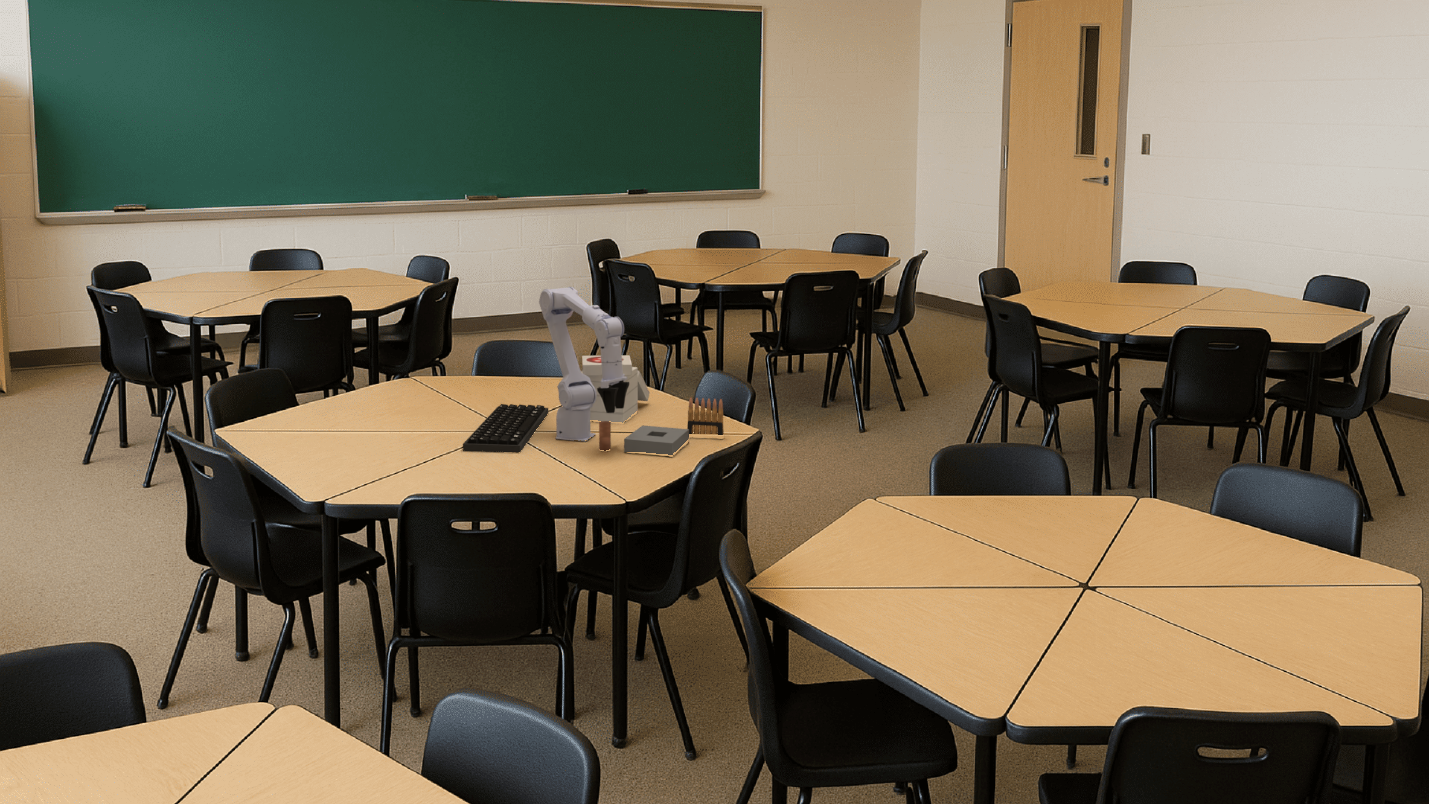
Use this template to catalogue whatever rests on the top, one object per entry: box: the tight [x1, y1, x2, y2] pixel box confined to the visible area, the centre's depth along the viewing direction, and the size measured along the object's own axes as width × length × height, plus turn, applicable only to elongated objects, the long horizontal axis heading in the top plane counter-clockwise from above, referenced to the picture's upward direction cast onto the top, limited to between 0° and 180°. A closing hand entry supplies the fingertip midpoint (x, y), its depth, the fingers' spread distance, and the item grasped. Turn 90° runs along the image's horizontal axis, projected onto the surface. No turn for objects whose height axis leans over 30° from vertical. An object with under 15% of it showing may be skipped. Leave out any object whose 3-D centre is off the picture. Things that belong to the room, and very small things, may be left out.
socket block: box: [623, 425, 690, 455], centre depth 328 cm, size 14×16×4 cm
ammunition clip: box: [686, 397, 724, 435], centre depth 339 cm, size 11×2×12 cm, turn 82°
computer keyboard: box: [462, 403, 549, 453], centre depth 343 cm, size 45×16×4 cm, turn 178°
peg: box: [598, 421, 612, 451], centre depth 324 cm, size 3×3×8 cm
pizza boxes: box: [580, 354, 650, 423], centre depth 366 cm, size 19×30×18 cm, turn 166°
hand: (615, 410), depth 322 cm, fingers open, 7 cm apart
